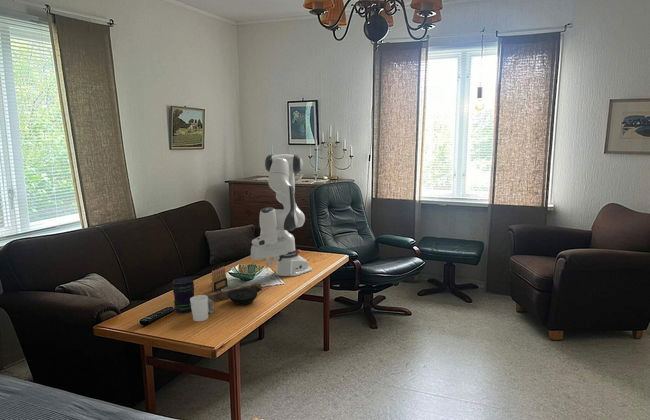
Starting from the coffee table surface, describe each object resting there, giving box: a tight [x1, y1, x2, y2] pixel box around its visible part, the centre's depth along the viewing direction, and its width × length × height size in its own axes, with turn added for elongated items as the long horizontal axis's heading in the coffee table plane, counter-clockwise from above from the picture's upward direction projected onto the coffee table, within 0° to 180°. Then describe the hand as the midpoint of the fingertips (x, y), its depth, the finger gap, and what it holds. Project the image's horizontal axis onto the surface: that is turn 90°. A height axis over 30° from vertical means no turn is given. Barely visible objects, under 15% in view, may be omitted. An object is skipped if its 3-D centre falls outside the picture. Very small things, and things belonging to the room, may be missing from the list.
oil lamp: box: [228, 286, 261, 305], centre depth 224 cm, size 15×20×5 cm
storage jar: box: [172, 276, 195, 315], centre depth 214 cm, size 10×10×15 cm
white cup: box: [190, 294, 209, 322], centre depth 202 cm, size 8×8×10 cm
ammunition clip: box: [211, 265, 229, 293], centre depth 243 cm, size 11×2×12 cm, turn 150°
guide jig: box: [205, 281, 263, 314], centre depth 225 cm, size 34×15×5 cm, turn 125°
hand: (270, 265), depth 230 cm, fingers closed
